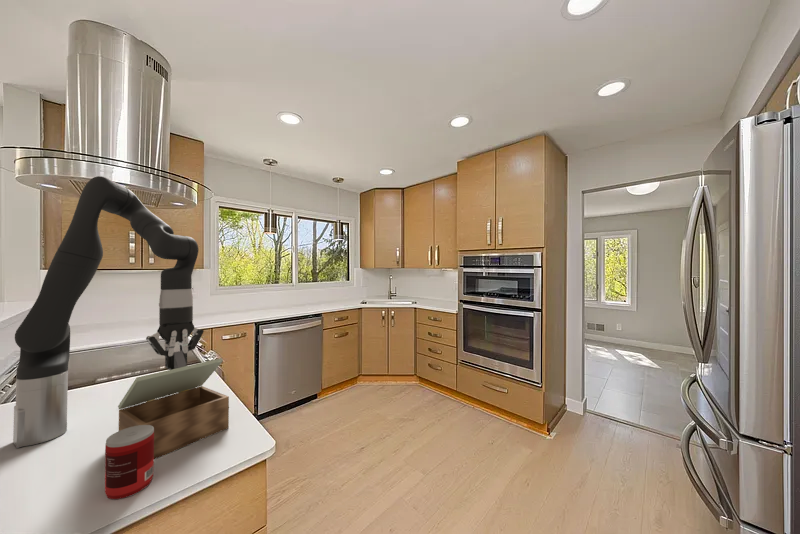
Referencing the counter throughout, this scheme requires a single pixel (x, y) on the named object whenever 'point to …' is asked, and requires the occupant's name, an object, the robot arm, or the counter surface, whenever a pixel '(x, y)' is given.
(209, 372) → the lid
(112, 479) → the canned food
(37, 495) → the counter surface
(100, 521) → the counter surface
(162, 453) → the storage box
